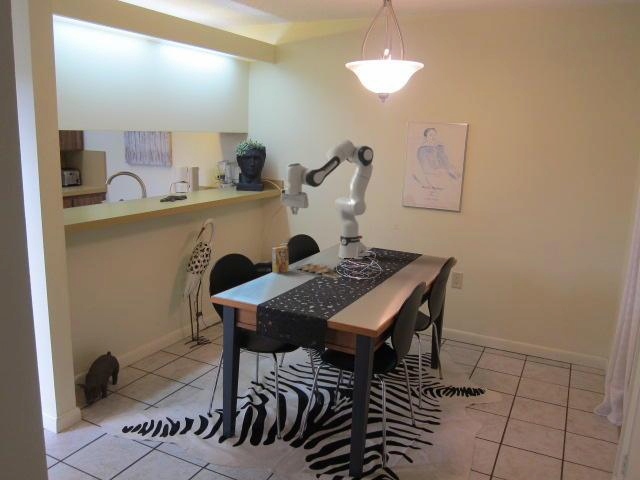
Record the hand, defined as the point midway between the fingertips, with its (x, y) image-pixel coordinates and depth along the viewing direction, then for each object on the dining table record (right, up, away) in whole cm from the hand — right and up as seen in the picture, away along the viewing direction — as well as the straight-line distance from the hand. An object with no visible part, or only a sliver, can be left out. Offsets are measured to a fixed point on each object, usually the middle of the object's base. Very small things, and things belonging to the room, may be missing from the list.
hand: (294, 214), depth 307 cm
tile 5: (+18, -34, -20) cm, 43 cm away
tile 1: (+3, -31, -7) cm, 32 cm away
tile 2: (+7, -32, -10) cm, 34 cm away
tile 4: (+14, -33, -17) cm, 40 cm away
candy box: (-7, -35, -13) cm, 38 cm away
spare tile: (+10, -33, -14) cm, 37 cm away
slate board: (+10, -34, -13) cm, 38 cm away
